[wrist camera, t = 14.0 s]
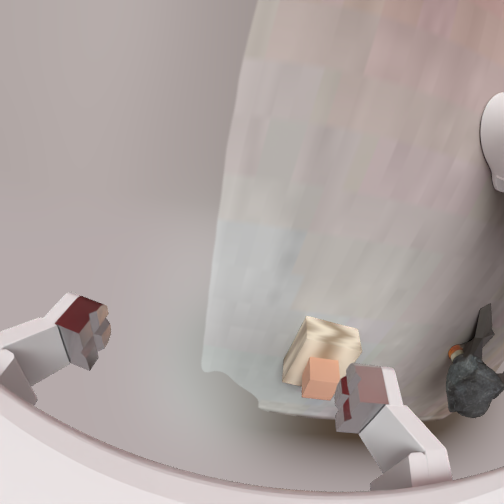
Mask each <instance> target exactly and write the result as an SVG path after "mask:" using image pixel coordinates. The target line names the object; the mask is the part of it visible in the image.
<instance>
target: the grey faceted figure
mask: <svg viewBox="0 0 504 504" xmlns="http://www.w3.org/2000/svg"><path fill="white" fill-rule="evenodd" d="M493 336H494V332H493V330H492V318H491V303H490V304H488V305H487V306H485V307H483V308H481V309H480V313H479V319H478V324H477V329H476V334H475V338H474V339H472V340H471V341H469V342H467V343H465V344H460V345H459V344H458V345H455V346H453V347H451V349H450V350H449V352H448V355H449V357H450V359H451V360H452V363H453V364H452V365H451V366H450V368H449V371H448V374H447V378H446V380H447V381H446V392H447V398H448V408H449V411H450V412H456V411H457V412H458V413H459V414H460V415H462V416H465V417H470V418H476V417H480V416H482V415H484V414H485V412H486V411H487V410H488V408H489V406H490V403H491V401H492V399H495V398H496V397H497V396H498V395H499V394H500V393H501V392H502V391H503V390H504V372H503V373H502V374H496V373H495V372H494V371H493V370H492V369H490V368H489V367H488V366H486V364H484V362H483V361H482V348H483V347H484V346H485V344H486V343H487V342H488V341H489V340H490V339H491V338H492V337H493Z"/></svg>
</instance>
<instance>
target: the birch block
mask: <svg viewBox="0 0 504 504" xmlns="http://www.w3.org/2000/svg"><path fill="white" fill-rule="evenodd" d="M361 353H362V348H361V343H360V338H359V333H358V329H356V328H352V327H348V326H344V325H340V324H336V323H332V322H328V321H324V320H321V319H317V318H313V317H309V316H306V318H305V320H304V322H303V324H302V326H301V328H300V330H299V332H298V333H297V335H296V337H295V339H294V341H293V343H292V345H291V347H290V349H289V351H288V353H287V355H286V357H285V358H284V364H283V376H282V382H284V383H288V384H293V385H297V386H302V374H303V372H304V370H305V367H306V365H307V363H308V360H309V358H310V357H316V358H323V359H331V360H338V362H339V373H340V379H341V378H343V377H344V376H345V375H346V369H347V368H348V366H349V365H350V364H351V363H354V362H355V361H356V360H357V358H358V357H359V356H360V354H361Z"/></svg>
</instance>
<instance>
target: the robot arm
mask: <svg viewBox="0 0 504 504" xmlns="http://www.w3.org/2000/svg"><path fill="white" fill-rule="evenodd" d="M481 144H482V149H483V153H484V156H485V158H486V161H487V163H488V165H489V167H490V169H491V172H492V180H493V186H494V188H495V189H496V190H498V191H500V192H504V92H502V93H499V94H497V95H495V96H494V97H493V98H492V99H491V100H490V101H489V102H488V104H487V106H486V108H485V110H484V113H483V116H482V121H481ZM107 315H108V308H107V306H106V305H104V304H102V303H99V302H96V301H93V300H91V299H88V298H86V297H83V296H80V295H78V294H75V293H73V292H69V293H67V294H65V295H64V297H63V298H62V299H61V300H60V301H59V302H58V303H57V304H56V305H55V306H54V307H53V308H52V309H51V310H50V312H48V314H47V315H46V316H45V317H44V318H40V317H39V318H37V319H34V320H31V321H28V322H26V323H23V324H20V325H17V326H15V327H12V328H9V329H6V330H4V331H1V332H0V504H504V466H503V467H500V468H497V469H494V470H491V471H487V472H484V473H480V474H477V475H473V476H469V477H465V478H460V479H456V480H452V474H451V469H450V464H449V459H448V455H447V450H446V448H445V447H444V446H443V445H442V444H441V443H440V441H439V440H438V439H437V438H436V437H435V436H434V435H433V434H432V433H431V432H430V430H429V429H428V428H427V427H426V426H425V425H424V424H423V423H422V422H421V421H420V419H419V418H418V417H417V416H416V415H415V414H414V413H413V412H412V411H411V410H410V409H409V407H408V406H405V405H403V402H402V398H401V394H400V390H399V385H398V382H397V378H396V374H395V370H394V369H393V368H392V367H383V366H374V365H366V364H357V363H351V364H350V365H349V366H348V368H347V369H346V376H345V377H343V378H341V379H340V381H339V383H338V384H337V387H336V391H335V405H336V406H337V408H338V409H339V411H338V412H337V413H336V415H335V419H336V431H337V432H348V433H360V434H359V436H360V437H361V439H362V440H363V442H364V444H365V445H366V447H367V448H368V450H369V452H370V453H371V455H372V457H373V458H374V460H375V461H376V463H377V465H378V466H379V468H380V469H381V471H382V473H383V475H381V476H379V477H378V478H377V479H375V480H374V481H372V482H371V483H370V491H356V492H326V491H325V492H324V491H303V490H290V489H281V488H272V487H263V486H257V485H250V484H244V483H238V482H233V481H227V480H222V479H218V478H213V477H209V476H205V475H200V474H196V473H192V472H188V471H185V470H181V469H178V468H174V467H171V466H168V465H164V464H161V463H158V462H155V461H152V460H149V459H146V458H143V457H140V456H138V455H135V454H132V453H130V452H127V451H124V450H122V449H119V448H117V447H115V446H112V445H110V444H107V443H105V442H103V441H100V440H98V439H96V438H94V437H91V436H89V435H87V434H85V433H83V432H81V431H79V430H77V429H75V428H73V427H71V426H69V425H67V424H65V423H63V422H61V421H59V420H58V419H56V418H54V417H52V416H51V415H49V414H47V413H45V412H44V411H42V410H40V409H38V408H37V407H35V406H34V405H35V403H36V402H37V396H36V394H35V393H34V391H33V389H32V387H31V386H33V385H34V384H36V383H38V382H40V381H41V380H43V379H45V378H47V377H48V376H50V375H52V374H54V373H55V372H57V371H59V370H60V369H62V368H64V367H65V366H67V365H69V364H70V363H72V364H74V365H77V366H79V367H82V368H84V369H87V370H89V371H90V370H91V368H92V367H93V365H94V364H95V362H96V361H97V359H98V351H100V350H102V349H104V348H105V347H106V345H107V343H108V341H109V338H110V334H111V327H110V323H109V322H108V320H107V319H106V317H107Z"/></svg>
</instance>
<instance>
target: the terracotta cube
mask: <svg viewBox="0 0 504 504" xmlns="http://www.w3.org/2000/svg"><path fill="white" fill-rule="evenodd" d="M339 381H340V373H339V362H338V360H331V359H323V358H316V357H310V358H309V360H308V363H307V365H306V367H305V370H304V372H303V374H302V397H304V398H313V399H321V400H331V398H332V397H333V395H334V393H335V391H336V387H337V384H338V383H339Z"/></svg>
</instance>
